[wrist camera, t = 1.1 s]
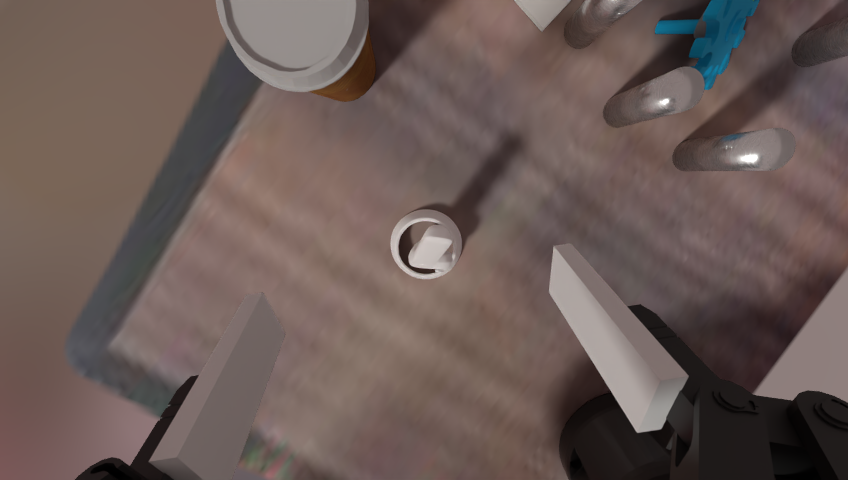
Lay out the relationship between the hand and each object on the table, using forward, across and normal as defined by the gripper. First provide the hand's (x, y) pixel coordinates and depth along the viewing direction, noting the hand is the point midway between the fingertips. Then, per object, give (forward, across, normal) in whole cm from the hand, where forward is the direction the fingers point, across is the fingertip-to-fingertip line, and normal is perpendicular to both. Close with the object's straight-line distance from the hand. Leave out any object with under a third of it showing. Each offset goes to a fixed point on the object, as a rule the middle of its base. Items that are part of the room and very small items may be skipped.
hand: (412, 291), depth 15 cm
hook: (+18, -1, +9) cm, 20 cm away
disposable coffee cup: (+24, +4, -8) cm, 26 cm away
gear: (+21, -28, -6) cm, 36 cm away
